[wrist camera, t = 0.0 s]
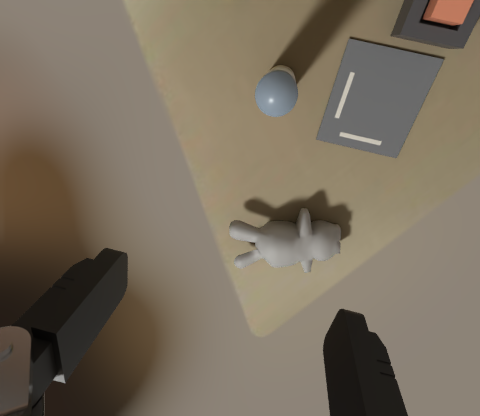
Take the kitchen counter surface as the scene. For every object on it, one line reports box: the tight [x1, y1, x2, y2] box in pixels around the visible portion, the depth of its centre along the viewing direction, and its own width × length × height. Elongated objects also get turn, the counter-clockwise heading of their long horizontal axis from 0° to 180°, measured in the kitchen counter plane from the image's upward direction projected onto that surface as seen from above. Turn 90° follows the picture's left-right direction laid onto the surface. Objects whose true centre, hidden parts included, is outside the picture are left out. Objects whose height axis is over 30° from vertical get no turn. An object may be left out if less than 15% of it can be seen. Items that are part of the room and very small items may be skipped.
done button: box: [422, 0, 474, 26], centre depth 26 cm, size 3×3×2 cm
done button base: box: [391, 0, 480, 49], centre depth 28 cm, size 6×6×3 cm
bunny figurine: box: [229, 208, 341, 273], centre depth 42 cm, size 10×5×15 cm
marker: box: [255, 65, 298, 117], centre depth 29 cm, size 3×3×12 cm
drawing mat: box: [316, 39, 444, 158], centre depth 34 cm, size 11×10×1 cm
